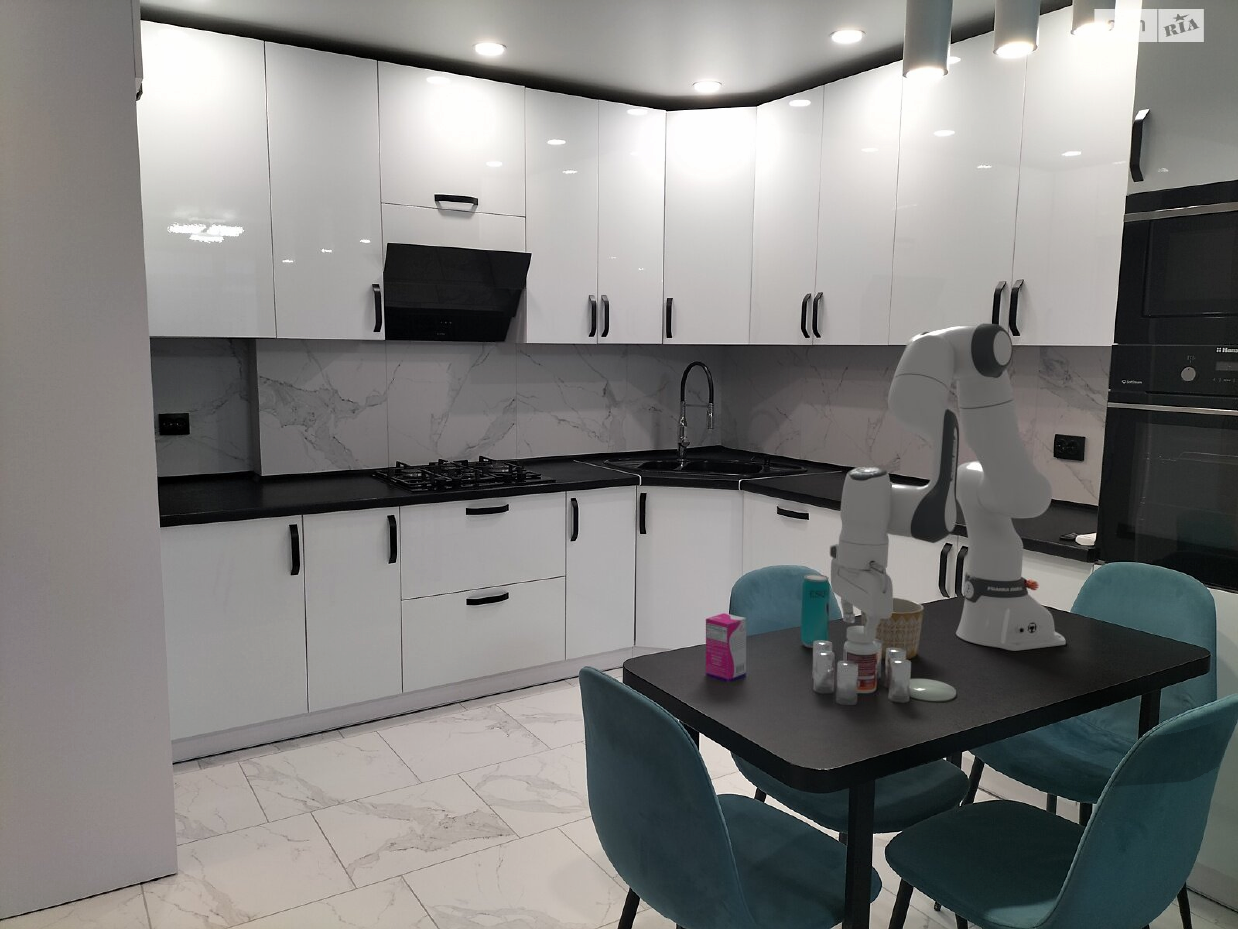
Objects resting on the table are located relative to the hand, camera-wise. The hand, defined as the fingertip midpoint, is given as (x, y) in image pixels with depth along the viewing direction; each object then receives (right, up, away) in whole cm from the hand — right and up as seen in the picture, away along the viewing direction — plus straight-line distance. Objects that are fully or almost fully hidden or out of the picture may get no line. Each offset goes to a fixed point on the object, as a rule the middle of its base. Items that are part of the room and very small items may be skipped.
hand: (858, 629), depth 168 cm
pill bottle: (0, -12, +1) cm, 12 cm away
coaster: (+13, -12, 0) cm, 17 cm away
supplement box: (-24, -11, +8) cm, 27 cm away
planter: (+12, -9, +22) cm, 27 cm away
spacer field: (0, -11, +1) cm, 11 cm away
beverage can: (-2, -9, +27) cm, 28 cm away
